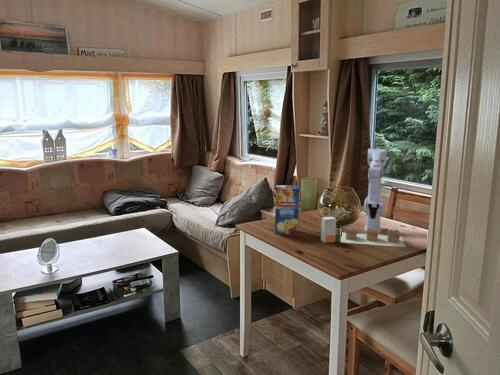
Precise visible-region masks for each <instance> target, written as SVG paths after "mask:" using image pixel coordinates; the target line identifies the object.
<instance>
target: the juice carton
mask: <svg viewBox="0 0 500 375" xmlns="http://www.w3.org/2000/svg"><path fill="white" fill-rule="evenodd" d="M274 201H275V206H274V207H275V209H274V210H275V213H274V214H275V215H274V216H275V217H274V218H275V220H274V226H275V227H274V234H277V235H298V234H299V211H300V210H299V206H300V203H299V202H300V185H278V184H277V185H275V200H274Z"/></svg>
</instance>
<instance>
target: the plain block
mask: <svg viewBox="0 0 500 375" xmlns="http://www.w3.org/2000/svg"><path fill="white" fill-rule="evenodd" d="M366 234H367V241H377V240H378V235H379V232H378V229H377V228H367V231H366Z"/></svg>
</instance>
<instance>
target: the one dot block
mask: <svg viewBox="0 0 500 375" xmlns="http://www.w3.org/2000/svg"><path fill="white" fill-rule="evenodd" d="M400 235H401V232H400V230H399V229H393V228H391V229H390V228H387V236H388V237H387V239H388V242H394V243H399V236H400Z"/></svg>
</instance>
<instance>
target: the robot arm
mask: <svg viewBox="0 0 500 375" xmlns="http://www.w3.org/2000/svg"><path fill="white" fill-rule="evenodd" d="M387 158H388V150H387V148H384V149H383V148H368V149H367V165H368V166H369V168H368V174H367V177H368V189H367V191H368V192H367V197H365V199H364V204H363V206H364V207H363V212H364V213H365V215H366V216H365V217H366V218H365V225H364V232H367V228H377V229H378V233H382V230H381V215H383V213H384V210H385V208H384V206H385V203H384V202H385V201H384V198H383V197H382V196H381V190H382V189H381V188H382V186H381V185H382V180H383V170H384V169H383V167H386V164H387Z"/></svg>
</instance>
